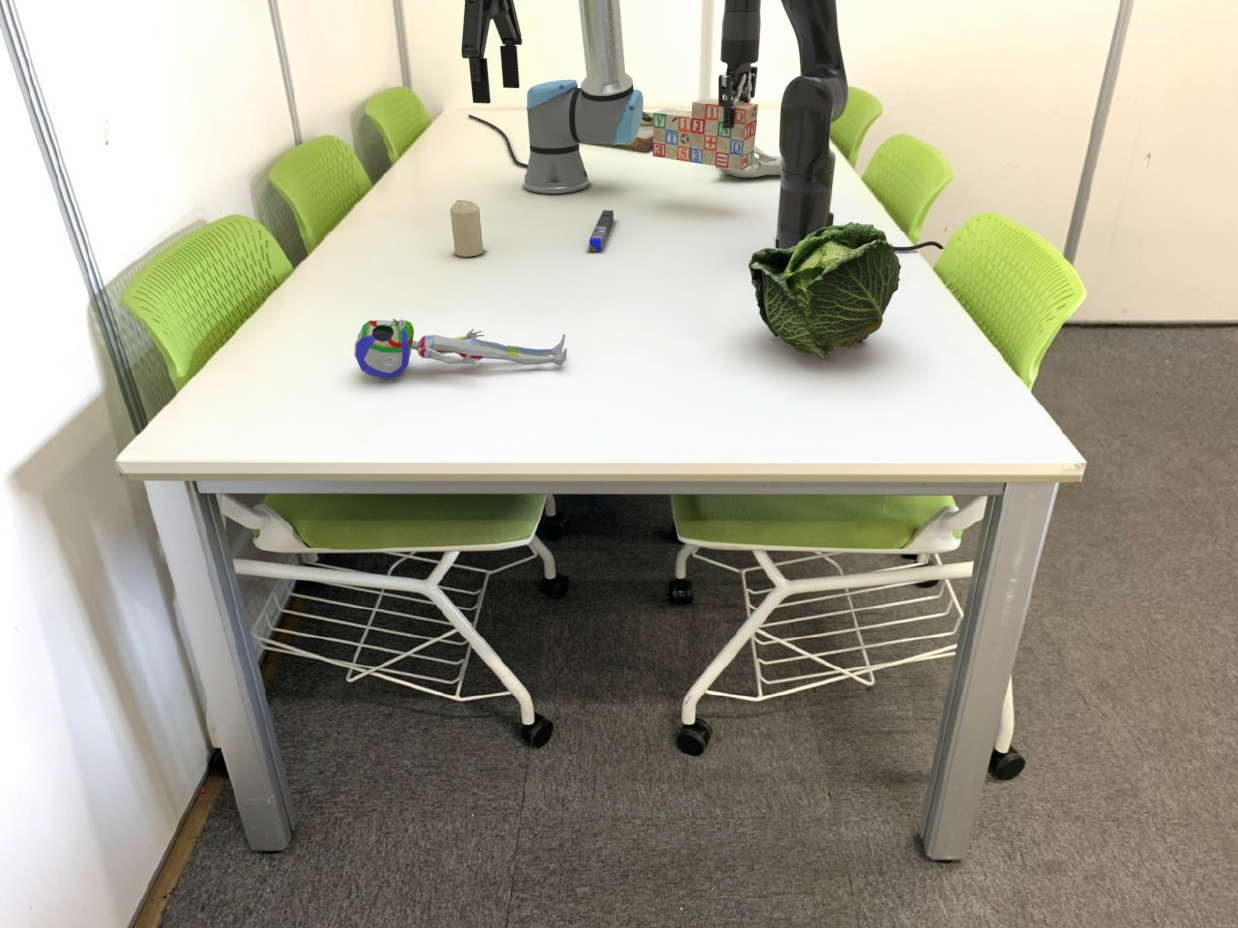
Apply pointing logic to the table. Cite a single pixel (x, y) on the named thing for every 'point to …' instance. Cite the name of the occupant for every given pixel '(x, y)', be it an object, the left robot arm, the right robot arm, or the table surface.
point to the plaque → (640, 135)
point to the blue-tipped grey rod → (601, 230)
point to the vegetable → (826, 287)
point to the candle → (466, 228)
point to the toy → (435, 349)
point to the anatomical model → (758, 166)
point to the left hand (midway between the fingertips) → (497, 95)
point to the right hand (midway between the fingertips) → (735, 124)
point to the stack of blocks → (706, 134)
